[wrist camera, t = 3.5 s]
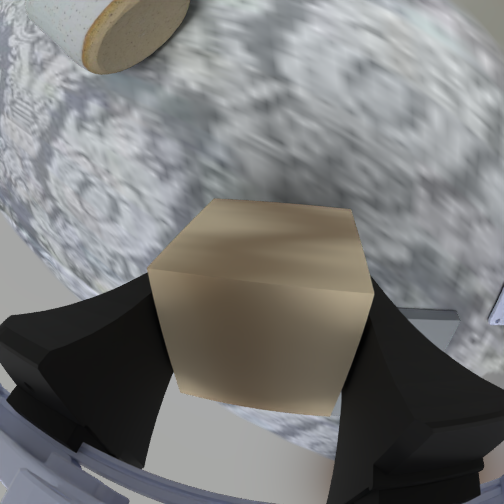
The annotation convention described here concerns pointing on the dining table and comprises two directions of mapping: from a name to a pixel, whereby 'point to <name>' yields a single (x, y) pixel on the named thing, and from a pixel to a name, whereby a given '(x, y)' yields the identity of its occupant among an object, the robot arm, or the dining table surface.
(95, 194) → the dining table surface
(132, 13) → the ceramic mug
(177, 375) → the maple block
